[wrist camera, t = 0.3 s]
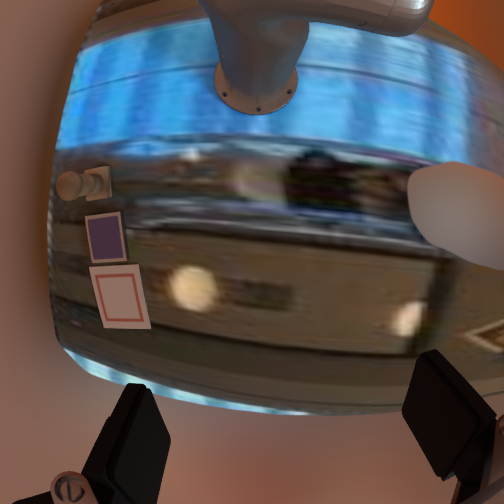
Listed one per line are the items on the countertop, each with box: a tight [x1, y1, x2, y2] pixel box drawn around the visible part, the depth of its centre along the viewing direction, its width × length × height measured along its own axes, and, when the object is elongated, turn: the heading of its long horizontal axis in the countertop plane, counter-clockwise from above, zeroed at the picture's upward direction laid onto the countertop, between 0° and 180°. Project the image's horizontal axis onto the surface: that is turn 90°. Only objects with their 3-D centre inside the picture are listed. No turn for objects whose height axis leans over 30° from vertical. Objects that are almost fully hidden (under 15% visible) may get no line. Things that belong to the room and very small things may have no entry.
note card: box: [89, 264, 151, 329], centre depth 45 cm, size 12×10×1 cm
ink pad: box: [85, 211, 130, 263], centre depth 42 cm, size 8×7×2 cm
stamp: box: [56, 166, 114, 201], centre depth 35 cm, size 5×4×12 cm
